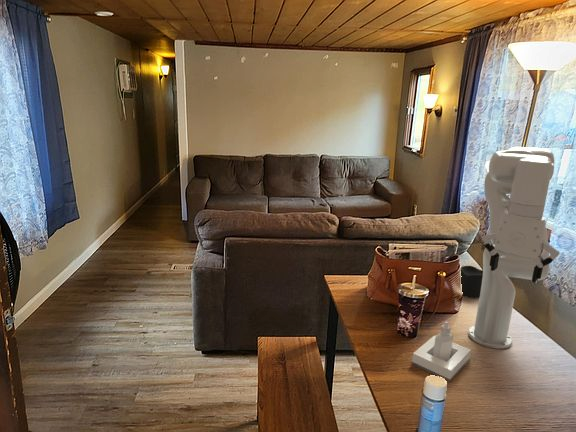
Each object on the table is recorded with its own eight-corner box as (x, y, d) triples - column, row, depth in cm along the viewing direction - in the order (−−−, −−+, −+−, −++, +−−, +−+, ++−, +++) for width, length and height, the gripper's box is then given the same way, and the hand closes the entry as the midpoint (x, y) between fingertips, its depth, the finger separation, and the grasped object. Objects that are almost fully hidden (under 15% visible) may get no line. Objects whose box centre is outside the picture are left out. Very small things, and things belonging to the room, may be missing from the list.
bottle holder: (433, 345, 129) (434, 334, 128) (469, 360, 122) (471, 349, 121) (411, 364, 119) (413, 353, 118) (449, 381, 112) (451, 370, 111)
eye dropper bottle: (453, 364, 118) (459, 326, 115) (434, 364, 118) (439, 326, 115) (447, 355, 122) (453, 318, 119) (428, 355, 122) (433, 318, 119)
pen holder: (478, 289, 169) (481, 266, 167) (486, 299, 160) (490, 275, 158) (454, 287, 170) (457, 265, 168) (461, 298, 161) (465, 274, 159)
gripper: (483, 205, 105) (473, 269, 109) (563, 220, 93) (548, 290, 98) (493, 201, 110) (483, 261, 115) (570, 214, 99) (556, 281, 103)
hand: (513, 274), depth 106 cm, fingers open, 9 cm apart
